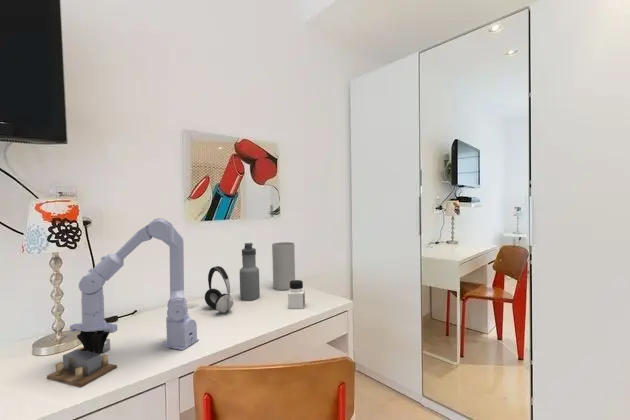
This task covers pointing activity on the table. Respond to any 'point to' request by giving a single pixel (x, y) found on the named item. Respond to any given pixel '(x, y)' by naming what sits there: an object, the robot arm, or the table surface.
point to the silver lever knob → (105, 349)
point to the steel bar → (82, 362)
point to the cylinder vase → (283, 265)
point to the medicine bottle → (296, 295)
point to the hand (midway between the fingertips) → (94, 354)
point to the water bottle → (249, 274)
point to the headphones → (218, 292)
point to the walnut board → (86, 378)
